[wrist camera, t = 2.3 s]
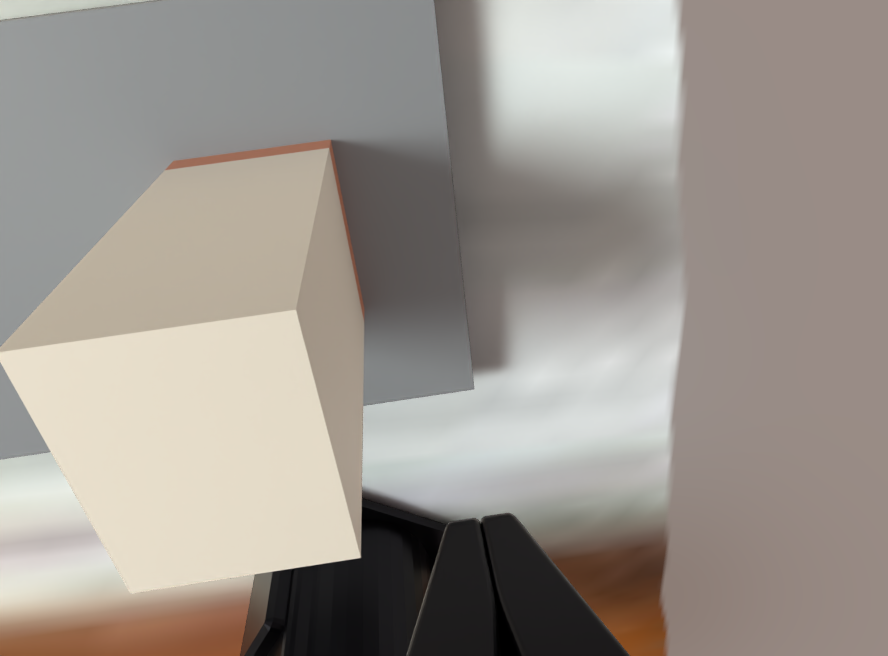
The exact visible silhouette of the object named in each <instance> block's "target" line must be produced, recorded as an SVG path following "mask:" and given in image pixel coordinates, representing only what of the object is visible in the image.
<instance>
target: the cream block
mask: <svg viewBox="0 0 888 656" xmlns="http://www.w3.org/2000/svg"><path fill="white" fill-rule="evenodd" d="M0 363H1V364H2V366H3V368H4V370H5V372H6V373H7V375H8V377H9V379H10V380H11V382H12V384H13V386H14V388H15V389H16V391H17V393H18V395H19V396H20V398H21V400H22V402H23V404H24V405H25V407H26V409H27V411H28V412H29V414H30V416H31V418H32V419H33V421H34V423H35V425H36V427H37V428H38V430H39V432H40V434H41V435H42V437H43V439H44V441H45V443H46V444H47V446H48V448H49V450H50V451H51V453H52V455H53V457H54V459H55V460H56V462H57V464H58V466H59V467H60V469H61V471H62V473H63V475H64V476H65V478H66V480H67V482H68V483H69V485H70V487H71V489H72V490H73V492H74V494H75V496H76V498H77V499H78V501H79V503H80V505H81V506H82V508H83V510H84V512H85V514H86V515H87V517H88V519H89V521H90V522H91V524H92V526H93V528H94V530H95V531H96V533H97V535H98V537H99V538H100V540H101V542H102V544H103V545H104V547H105V549H106V551H107V553H108V554H109V556H110V558H111V560H112V561H113V563H114V565H115V567H116V569H117V570H118V572H119V574H120V576H121V577H122V579H123V581H124V583H125V585H126V586H127V588H128V590H129V592H130V593H131V594H132V593H138V592H144V591H151V590H157V589H164V588H170V587H177V586H183V585H190V584H196V583H202V582H209V581H215V580H222V579H228V578H235V577H241V576H247V575H254V574H260V573H267V572H273V571H280V570H286V569H293V568H299V567H305V566H312V565H318V564H325V563H331V562H338V561H344V560H351V559H357V558H361V517H362V448H363V379H364V304H363V299H362V294H361V289H360V284H359V279H358V274H357V269H356V264H355V259H354V254H353V249H352V244H351V239H350V234H349V229H348V224H347V219H346V214H345V209H344V204H343V199H342V194H341V189H340V183H339V178H338V173H337V168H336V163H335V158H334V153H333V148H332V143H331V140H324V141H317V142H309V143H302V144H295V145H287V146H280V147H272V148H265V149H258V150H250V151H243V152H235V153H228V154H221V155H213V156H206V157H199V158H191V159H184V160H176V161H173V162H172V163H171V164H170V165H169V166H168V167H167V168H166V169H165V170H164V172H163V173H162V174H161V175H160V176H159V177H158V178H157V179H156V180H155V181H154V182H153V183H152V184H151V186H150V187H149V188H148V189H147V190H146V191H145V192H144V193H143V194H142V195H141V196H140V197H139V198H138V199H137V201H136V202H135V203H134V204H133V205H132V206H131V207H130V208H129V209H128V210H127V211H126V212H125V213H124V215H123V216H122V217H121V218H120V219H119V220H118V221H117V222H116V223H115V224H114V225H113V226H112V227H111V229H110V230H109V231H108V232H107V233H106V234H105V235H104V236H103V237H102V238H101V239H100V240H99V241H98V243H97V244H96V245H95V246H94V247H93V248H92V249H91V250H90V251H89V252H88V253H87V254H86V255H85V256H84V258H83V259H82V260H81V261H80V262H79V263H78V264H77V265H76V266H75V267H74V268H73V269H72V270H71V272H70V273H69V274H68V275H67V276H66V277H65V278H64V279H63V280H62V281H61V282H60V283H59V284H58V286H57V287H56V288H55V289H54V290H53V291H52V292H51V293H50V294H49V295H48V296H47V297H46V298H45V300H44V301H43V302H42V303H41V304H40V305H39V306H38V307H37V308H36V309H35V310H34V311H33V312H32V314H31V315H30V316H29V317H28V318H27V319H26V320H25V321H24V322H23V323H22V324H21V325H20V326H19V327H18V329H17V330H16V331H15V332H14V333H13V334H12V335H11V336H10V337H9V338H8V339H7V340H6V341H5V343H4V344H3V345H2V346H1V347H0Z"/></svg>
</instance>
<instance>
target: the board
mask: <svg viewBox="0 0 888 656" xmlns="http://www.w3.org/2000/svg"><path fill="white" fill-rule="evenodd" d="M324 140H331V143H332V148H333V153H334V158H335V163H336V168H337V173H338V178H339V183H340V189H341V194H342V199H343V204H344V209H345V214H346V219H347V224H348V229H349V234H350V239H351V244H352V249H353V254H354V259H355V264H356V269H357V274H358V279H359V284H360V289H361V294H362V299H363V304H364V379H363V406H365V405H372V404H378V403H385V402H392V401H399V400H405V399H412V398H419V397H426V396H432V395H439V394H446V393H453V392H459V391H466V390H473V389H474V381H473V371H472V361H471V352H470V342H469V333H468V323H467V313H466V304H465V294H464V285H463V275H462V265H461V256H460V246H459V237H458V227H457V217H456V208H455V198H454V189H453V179H452V169H451V160H450V150H449V141H448V131H447V121H446V112H445V102H444V93H443V83H442V73H441V64H440V54H439V45H438V35H437V25H436V16H435V6H434V0H154V1H146V2H138V3H130V4H122V5H115V6H107V7H99V8H91V9H83V10H76V11H68V12H60V13H52V14H44V15H36V16H29V17H21V18H13V19H5V20H0V347H1V346H2V345H3V344H4V343H5V341H6V340H7V339H8V338H9V337H10V336H11V335H12V334H13V333H14V332H15V331H16V330H17V329H18V327H19V326H20V325H21V324H22V323H23V322H24V321H25V320H26V319H27V318H28V317H29V316H30V315H31V314H32V312H33V311H34V310H35V309H36V308H37V307H38V306H39V305H40V304H41V303H42V302H43V301H44V300H45V298H46V297H47V296H48V295H49V294H50V293H51V292H52V291H53V290H54V289H55V288H56V287H57V286H58V284H59V283H60V282H61V281H62V280H63V279H64V278H65V277H66V276H67V275H68V274H69V273H70V272H71V270H72V269H73V268H74V267H75V266H76V265H77V264H78V263H79V262H80V261H81V260H82V259H83V258H84V256H85V255H86V254H87V253H88V252H89V251H90V250H91V249H92V248H93V247H94V246H95V245H96V244H97V243H98V241H99V240H100V239H101V238H102V237H103V236H104V235H105V234H106V233H107V232H108V231H109V230H110V229H111V227H112V226H113V225H114V224H115V223H116V222H117V221H118V220H119V219H120V218H121V217H122V216H123V215H124V213H125V212H126V211H127V210H128V209H129V208H130V207H131V206H132V205H133V204H134V203H135V202H136V201H137V199H138V198H139V197H140V196H141V195H142V194H143V193H144V192H145V191H146V190H147V189H148V188H149V187H150V186H151V184H152V183H153V182H154V181H155V180H156V179H157V178H158V177H159V176H160V175H161V174H162V173H163V172H164V170H165V169H166V168H167V167H168V166H169V165H170V164H171V163H172V162H173V161H176V160H184V159H191V158H199V157H206V156H213V155H221V154H228V153H235V152H243V151H250V150H258V149H265V148H272V147H280V146H287V145H295V144H302V143H309V142H317V141H324ZM48 452H51V451H50V450H49V448H48V446H47V444H46V443H45V441H44V439H43V437H42V435H41V434H40V432H39V430H38V428H37V427H36V425H35V423H34V421H33V419H32V418H31V416H30V414H29V412H28V411H27V409H26V407H25V405H24V404H23V402H22V400H21V398H20V396H19V395H18V393H17V391H16V389H15V388H14V386H13V384H12V382H11V380H10V379H9V377H8V375H7V373H6V372H5V370H4V368H3V366H2V364H1V363H0V460H1V459H7V458H14V457H21V456H28V455H34V454H41V453H48Z"/></svg>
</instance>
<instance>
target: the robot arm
mask: <svg viewBox="0 0 888 656" xmlns="http://www.w3.org/2000/svg"><path fill="white" fill-rule="evenodd" d="M240 656H630V655H629V654H628V653H627V651H626V650H625V649H624V648H623V647H622V645H621V644H620V643H619V642H618V640H617V639H616V638H615V637H614V636H613V634H612V633H611V632H610V631H609V630H608V628H607V627H606V626H605V625H604V623H603V622H602V621H601V620H600V619H599V617H598V616H597V615H596V614H595V613H594V611H593V610H592V609H591V608H590V606H589V605H588V604H587V603H586V602H585V600H584V599H583V598H582V597H581V595H580V594H579V593H578V592H577V591H576V589H575V588H574V587H573V586H572V585H571V583H570V582H569V581H568V580H567V578H566V577H565V576H564V575H563V574H562V572H561V571H560V570H559V569H558V567H557V566H556V565H555V564H554V563H553V561H552V560H551V559H550V558H549V557H548V555H547V554H546V553H545V552H544V550H543V549H542V548H541V547H540V546H539V544H538V543H537V542H536V541H535V539H534V538H533V537H532V536H531V535H530V533H529V532H528V531H527V530H526V529H525V527H524V526H523V525H522V524H521V522H520V521H519V520H518V519H517V518H516V517H515V516H514V515H513V514H511V513H503V514H497V515H490V516H485V517H483V518H482V520H481V524H480V521H479V520H478V519H476V518H471V519H464V520H458V521H452V522H449V523H448V524H447V525H446V524H442V523H439V522H436V521H433V520H430V519H426V518H423V517H420V516H417V515H414V514H410V513H407V512H404V511H401V510H398V509H394V508H391V507H388V506H385V505H382V504H378V503H375V502H372V501H369V500H366V499H362V517H361V558H357V559H351V560H344V561H338V562H331V563H325V564H318V565H312V566H305V567H299V568H293V569H286V570H280V571H273V572H267V573H260V574H255V577H254V582H253V588H252V593H251V598H250V604H249V609H248V615H247V620H246V626H245V631H244V637H243V642H242V647H241V653H240Z"/></svg>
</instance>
